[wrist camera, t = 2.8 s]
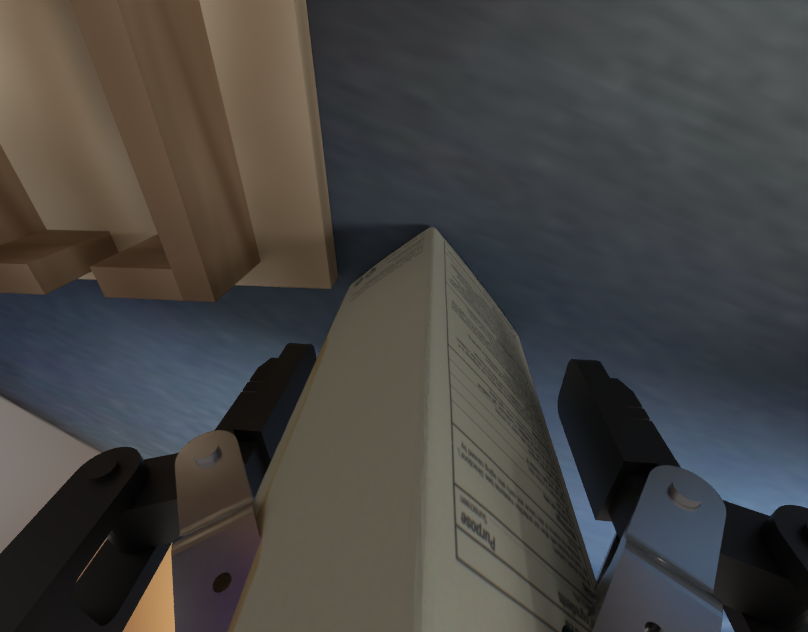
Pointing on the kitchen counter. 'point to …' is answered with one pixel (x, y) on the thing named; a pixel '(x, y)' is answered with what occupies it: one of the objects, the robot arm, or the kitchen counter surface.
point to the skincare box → (417, 473)
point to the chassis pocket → (161, 148)
